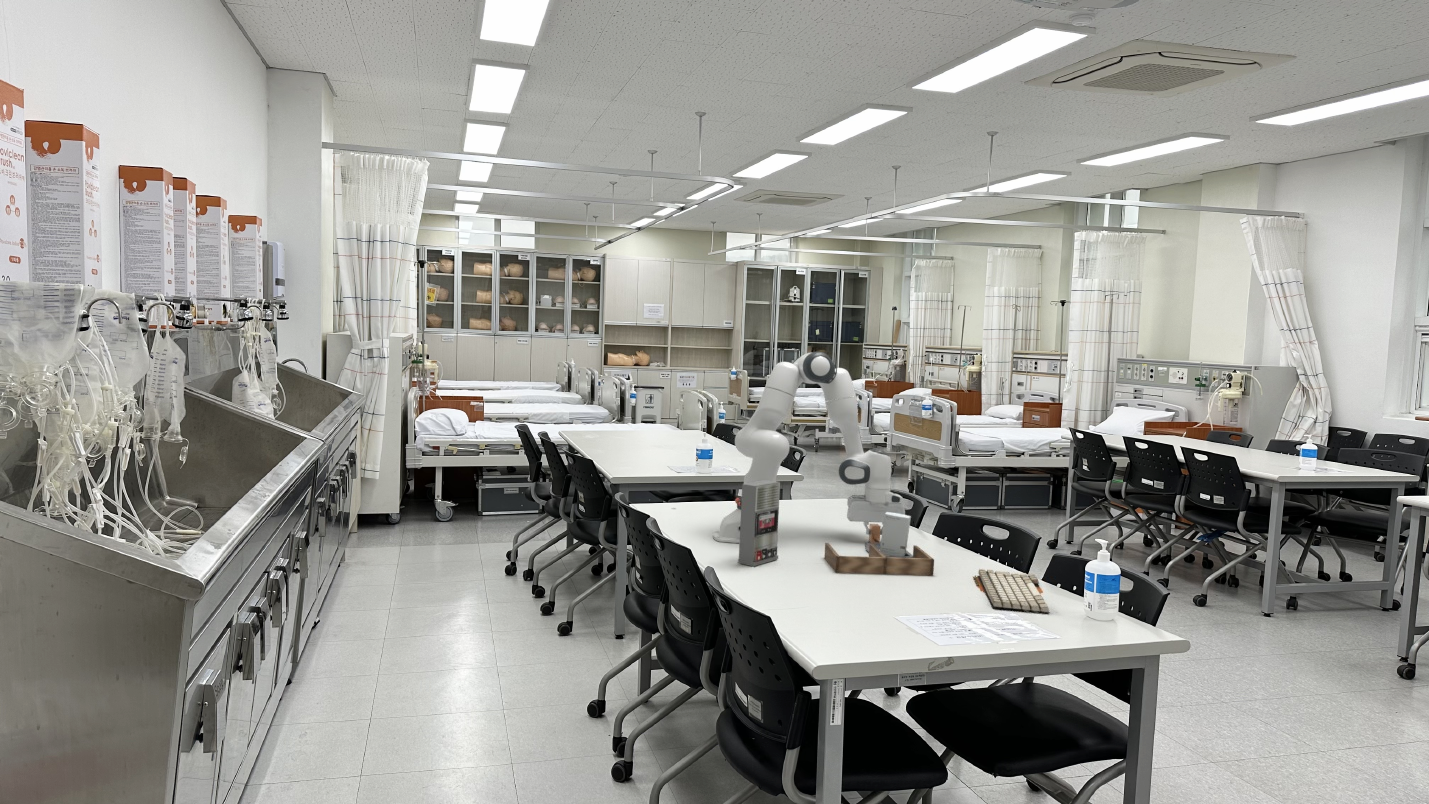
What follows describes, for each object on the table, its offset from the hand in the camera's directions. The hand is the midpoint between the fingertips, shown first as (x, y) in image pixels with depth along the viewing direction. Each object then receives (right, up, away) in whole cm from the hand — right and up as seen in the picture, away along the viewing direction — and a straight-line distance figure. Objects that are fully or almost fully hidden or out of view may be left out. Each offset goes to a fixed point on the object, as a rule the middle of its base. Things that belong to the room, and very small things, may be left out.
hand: (874, 534), depth 317 cm
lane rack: (-5, -5, -34) cm, 35 cm away
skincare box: (+2, -5, -24) cm, 24 cm away
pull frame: (+1, -4, -14) cm, 14 cm away
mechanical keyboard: (+29, -9, -60) cm, 67 cm away
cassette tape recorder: (-43, -4, -35) cm, 55 cm away
